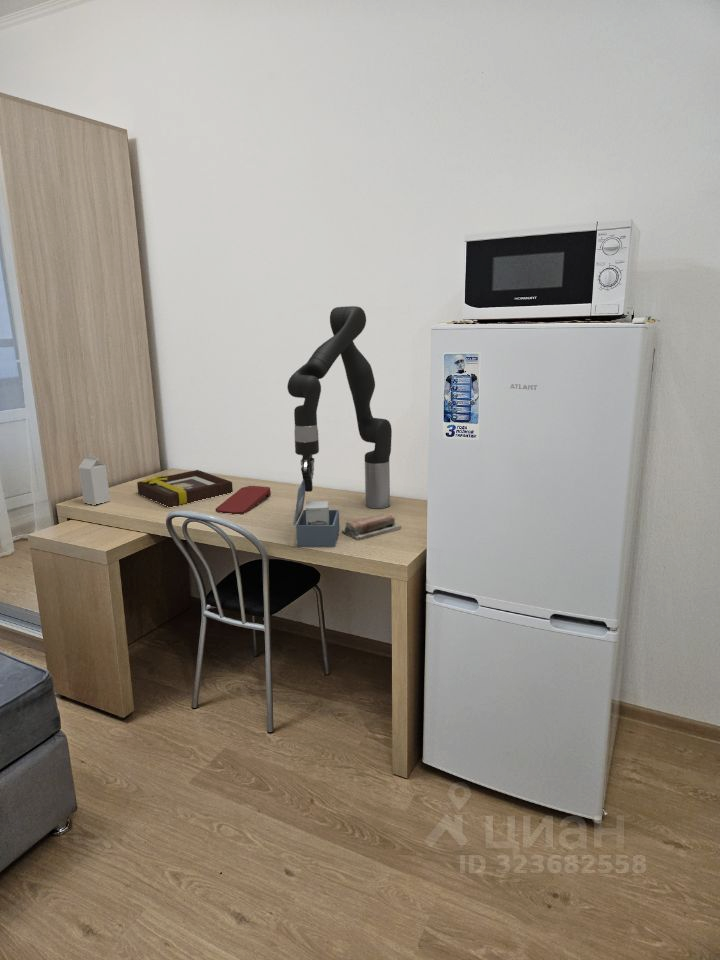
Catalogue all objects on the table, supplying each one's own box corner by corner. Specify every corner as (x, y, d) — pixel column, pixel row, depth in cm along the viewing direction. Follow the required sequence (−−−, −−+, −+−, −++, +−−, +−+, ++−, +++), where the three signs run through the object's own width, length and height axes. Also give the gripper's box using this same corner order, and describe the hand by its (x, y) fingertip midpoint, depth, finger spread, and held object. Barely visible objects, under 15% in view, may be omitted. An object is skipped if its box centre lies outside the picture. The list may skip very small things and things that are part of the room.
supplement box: (306, 545, 203) (304, 507, 200) (307, 537, 210) (306, 500, 207) (329, 544, 203) (328, 507, 200) (330, 536, 210) (328, 500, 207)
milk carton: (95, 506, 249) (89, 459, 244) (83, 504, 253) (76, 457, 248) (110, 501, 255) (104, 455, 250) (98, 499, 259) (92, 453, 254)
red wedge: (243, 524, 236) (275, 496, 257) (241, 513, 234) (273, 485, 255) (215, 521, 240) (249, 493, 261) (213, 509, 238) (247, 482, 259)
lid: (303, 509, 216) (301, 508, 216) (307, 474, 213) (306, 474, 213) (295, 525, 200) (293, 525, 200) (300, 488, 197) (298, 488, 197)
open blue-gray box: (304, 529, 218) (303, 509, 216) (339, 529, 217) (338, 509, 215) (297, 546, 202) (296, 525, 200) (334, 546, 201) (334, 525, 200)
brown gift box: (168, 493, 242) (135, 478, 264) (170, 509, 244) (136, 494, 266) (232, 479, 261) (196, 466, 282) (233, 494, 262) (197, 481, 284)
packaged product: (357, 528, 205) (340, 520, 213) (357, 542, 206) (341, 533, 214) (401, 516, 214) (384, 509, 222) (402, 530, 216) (384, 522, 224)
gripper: (298, 434, 209) (300, 485, 213) (291, 443, 196) (294, 497, 201) (320, 434, 208) (322, 485, 213) (315, 442, 196) (318, 496, 200)
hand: (308, 490), depth 207 cm, fingers closed
